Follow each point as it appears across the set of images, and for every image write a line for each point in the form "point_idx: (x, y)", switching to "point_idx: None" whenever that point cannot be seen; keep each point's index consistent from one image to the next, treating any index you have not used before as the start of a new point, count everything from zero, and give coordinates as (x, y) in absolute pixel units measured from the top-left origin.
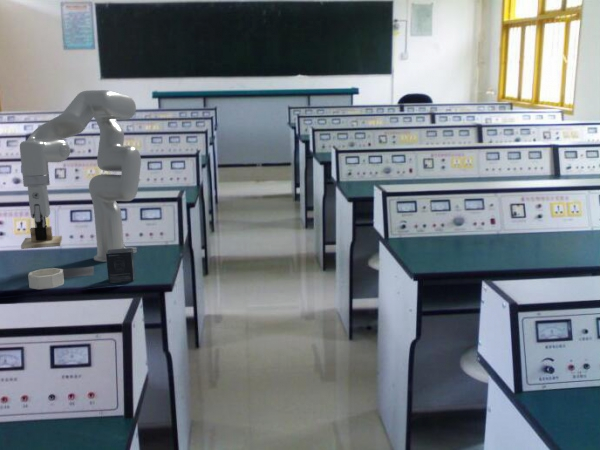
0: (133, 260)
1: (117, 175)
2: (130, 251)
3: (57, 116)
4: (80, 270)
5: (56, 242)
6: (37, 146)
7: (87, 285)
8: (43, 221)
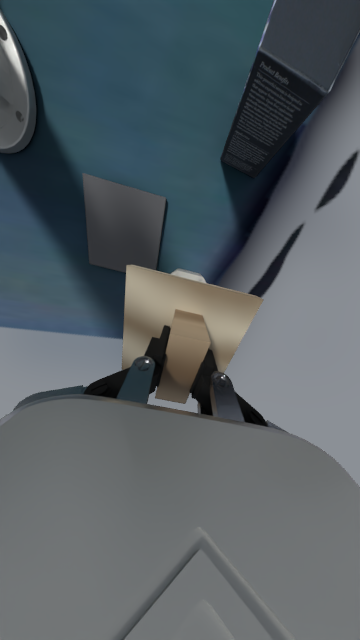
0: None
1: None
2: None
3: None
4: (112, 219)
5: (254, 309)
6: None
7: (223, 230)
8: (238, 409)
